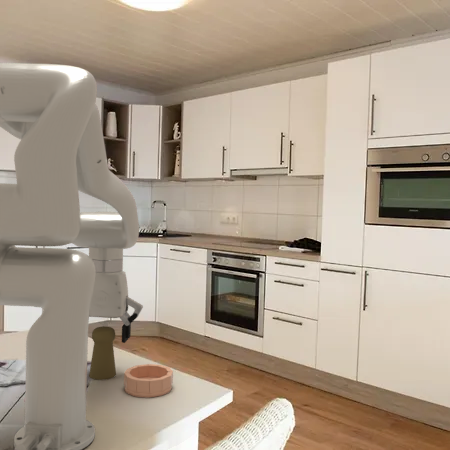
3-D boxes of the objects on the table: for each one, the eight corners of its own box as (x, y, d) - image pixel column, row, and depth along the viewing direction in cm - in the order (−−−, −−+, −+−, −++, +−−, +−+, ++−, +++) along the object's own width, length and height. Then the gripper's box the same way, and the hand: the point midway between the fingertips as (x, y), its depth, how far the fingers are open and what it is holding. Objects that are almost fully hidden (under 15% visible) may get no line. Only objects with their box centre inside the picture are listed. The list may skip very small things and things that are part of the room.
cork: (83, 376, 107) (84, 328, 107) (101, 368, 113) (103, 322, 112) (103, 381, 104) (104, 332, 104) (121, 373, 110) (123, 326, 109)
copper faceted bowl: (166, 399, 96) (167, 382, 96) (118, 395, 97) (119, 379, 97) (175, 381, 106) (176, 365, 106) (131, 378, 107) (132, 363, 107)
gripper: (61, 266, 105) (61, 342, 106) (139, 270, 103) (137, 347, 105) (75, 261, 112) (74, 332, 113) (147, 265, 111) (145, 337, 112)
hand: (104, 339), depth 109 cm, fingers open, 9 cm apart
